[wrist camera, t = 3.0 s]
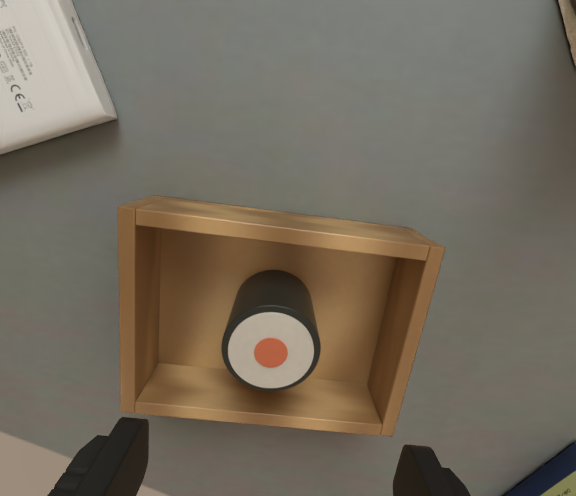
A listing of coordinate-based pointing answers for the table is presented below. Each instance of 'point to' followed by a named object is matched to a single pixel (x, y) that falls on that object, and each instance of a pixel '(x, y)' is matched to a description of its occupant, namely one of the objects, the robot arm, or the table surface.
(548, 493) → the protein box
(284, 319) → the sushi roll
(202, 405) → the bento box
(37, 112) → the hard drive
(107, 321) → the table surface
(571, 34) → the condiment
